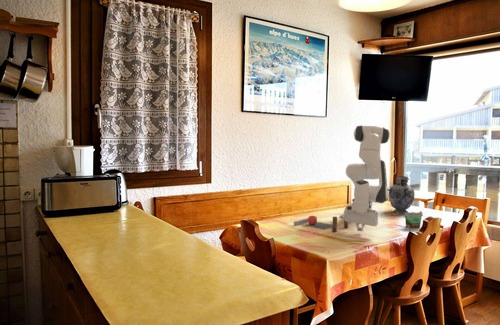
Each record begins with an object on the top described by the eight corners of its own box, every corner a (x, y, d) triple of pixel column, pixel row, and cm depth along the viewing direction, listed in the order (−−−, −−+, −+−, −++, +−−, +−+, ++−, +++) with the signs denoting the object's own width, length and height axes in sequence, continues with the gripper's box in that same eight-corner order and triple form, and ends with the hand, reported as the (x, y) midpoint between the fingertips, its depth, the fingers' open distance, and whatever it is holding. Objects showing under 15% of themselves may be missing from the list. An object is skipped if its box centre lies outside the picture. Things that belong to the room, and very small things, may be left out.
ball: (304, 219, 245) (309, 214, 241) (309, 218, 249) (315, 213, 245) (309, 227, 242) (314, 222, 238) (314, 225, 246) (320, 220, 242)
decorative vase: (392, 208, 307) (395, 174, 304) (416, 212, 295) (419, 176, 293) (383, 212, 290) (385, 176, 288) (408, 216, 279) (410, 178, 276)
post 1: (331, 231, 227) (331, 216, 226) (333, 230, 229) (334, 216, 228) (335, 232, 225) (335, 217, 224) (337, 231, 227) (337, 217, 226)
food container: (410, 229, 237) (410, 213, 236) (403, 227, 243) (404, 211, 242) (426, 228, 240) (427, 213, 240) (419, 226, 246) (420, 211, 246)
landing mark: (305, 225, 241) (305, 225, 241) (317, 222, 251) (317, 221, 251) (324, 229, 232) (324, 229, 232) (335, 225, 242) (335, 225, 242)
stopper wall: (293, 225, 241) (294, 221, 241) (314, 219, 259) (314, 216, 259) (296, 225, 240) (296, 222, 239) (316, 220, 257) (316, 216, 257)
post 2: (343, 227, 237) (343, 213, 237) (345, 227, 239) (345, 213, 239) (346, 228, 236) (347, 214, 235) (348, 227, 238) (349, 213, 237)
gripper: (380, 209, 218) (379, 233, 219) (348, 205, 231) (347, 227, 232) (375, 211, 213) (374, 235, 214) (343, 206, 227) (342, 228, 228)
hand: (360, 231), depth 223 cm, fingers closed
